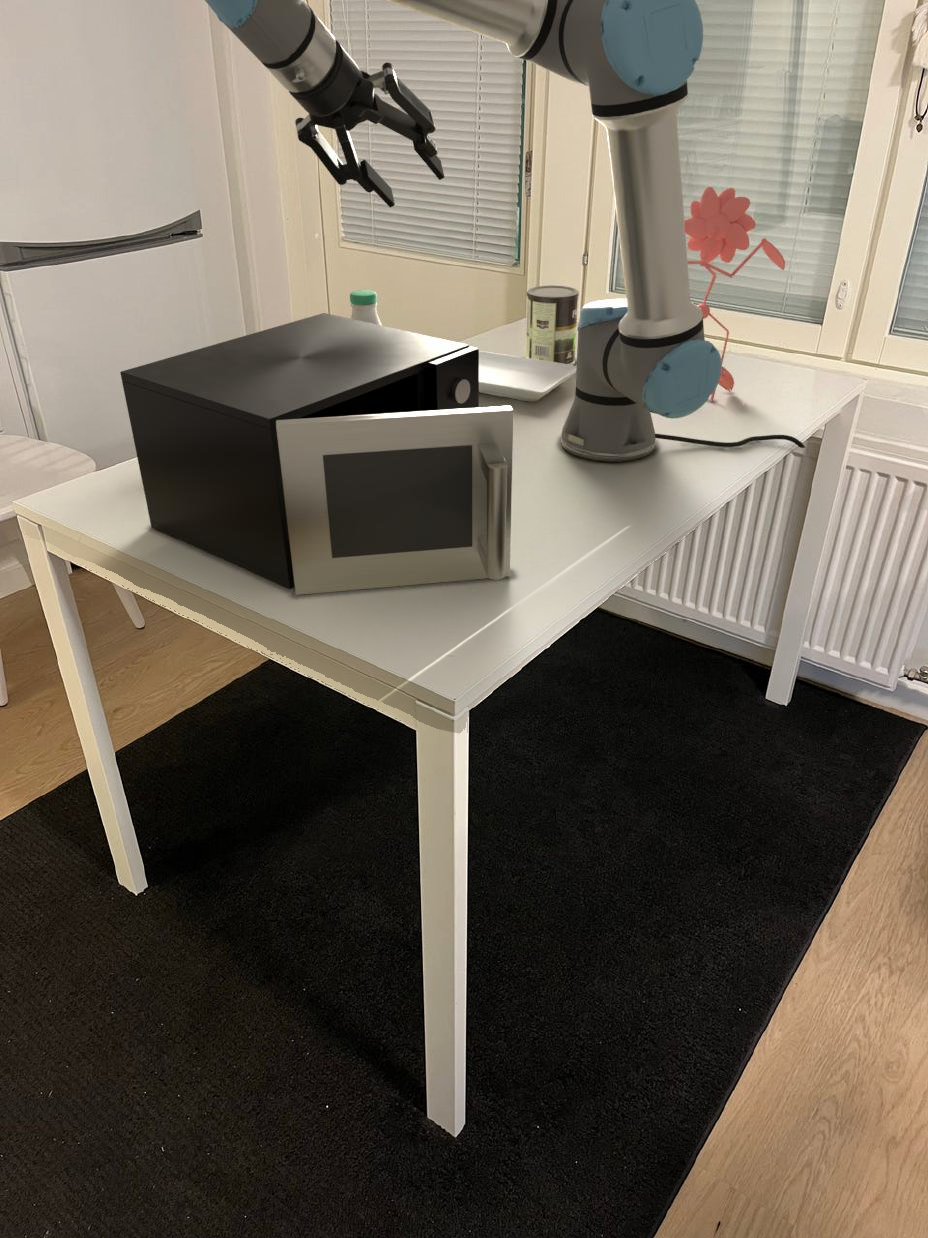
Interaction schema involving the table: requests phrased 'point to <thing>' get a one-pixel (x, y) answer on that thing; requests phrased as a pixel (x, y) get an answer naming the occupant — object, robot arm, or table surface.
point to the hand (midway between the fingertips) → (415, 184)
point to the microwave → (271, 422)
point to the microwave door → (397, 497)
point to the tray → (520, 376)
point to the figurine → (723, 243)
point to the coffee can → (552, 323)
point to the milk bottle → (364, 306)
